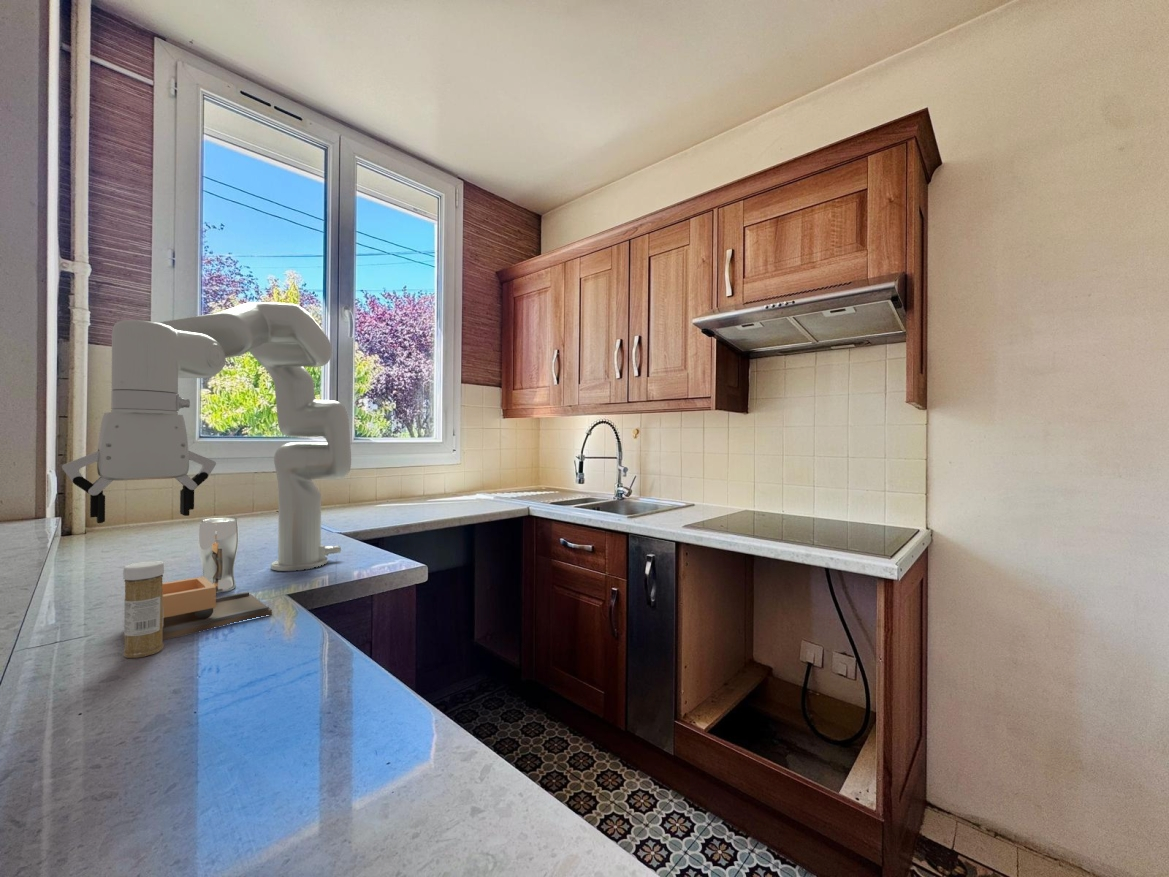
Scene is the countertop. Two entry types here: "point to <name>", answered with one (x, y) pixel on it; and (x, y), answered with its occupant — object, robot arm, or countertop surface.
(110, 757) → the countertop surface
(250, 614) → the track board
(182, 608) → the cart
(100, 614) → the countertop surface
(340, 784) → the countertop surface
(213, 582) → the beer glass
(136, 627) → the sprinkles bottle
